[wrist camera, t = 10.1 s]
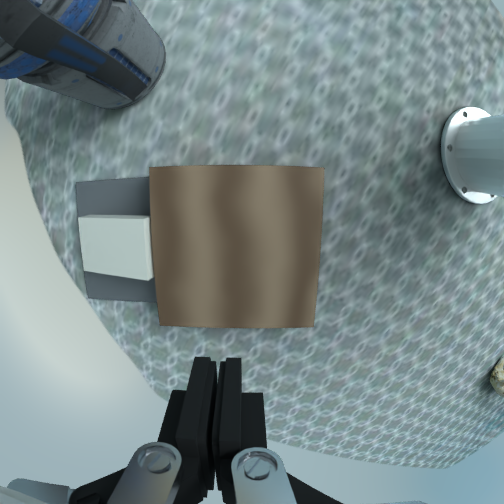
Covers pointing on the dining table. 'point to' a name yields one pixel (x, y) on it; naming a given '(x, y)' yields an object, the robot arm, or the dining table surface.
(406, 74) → the dining table surface
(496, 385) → the jawbone
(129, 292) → the mat
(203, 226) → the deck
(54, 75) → the beverage bottle
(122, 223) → the pale grey flat tile
